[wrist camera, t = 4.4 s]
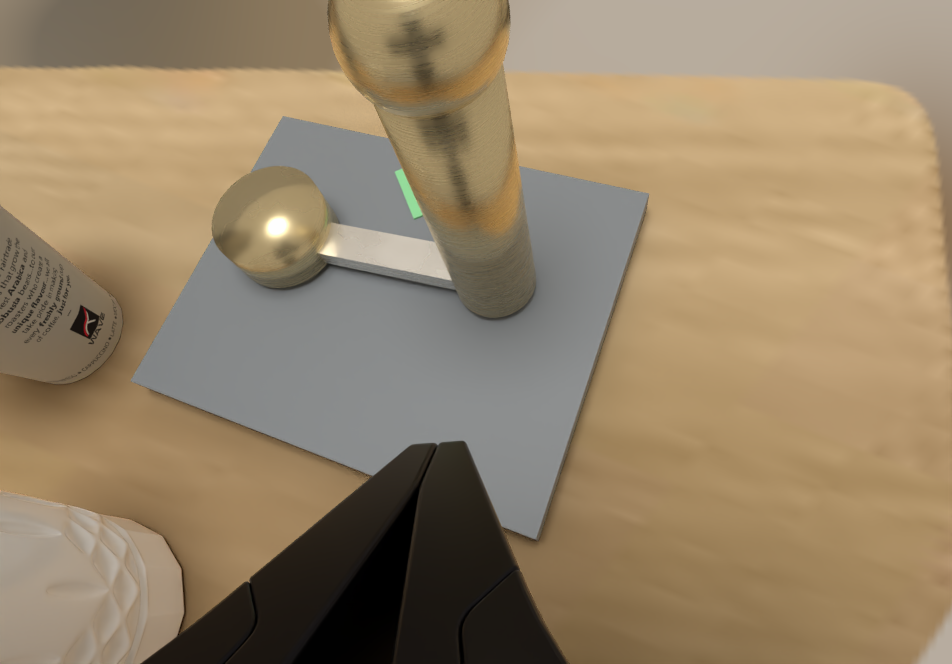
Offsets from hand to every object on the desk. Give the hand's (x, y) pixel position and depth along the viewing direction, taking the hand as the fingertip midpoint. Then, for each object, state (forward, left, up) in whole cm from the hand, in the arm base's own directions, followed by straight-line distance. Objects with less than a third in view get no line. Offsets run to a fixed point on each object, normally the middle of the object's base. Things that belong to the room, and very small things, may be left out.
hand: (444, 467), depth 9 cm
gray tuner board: (+8, -7, -12) cm, 16 cm away
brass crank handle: (+8, -8, -11) cm, 16 cm away
